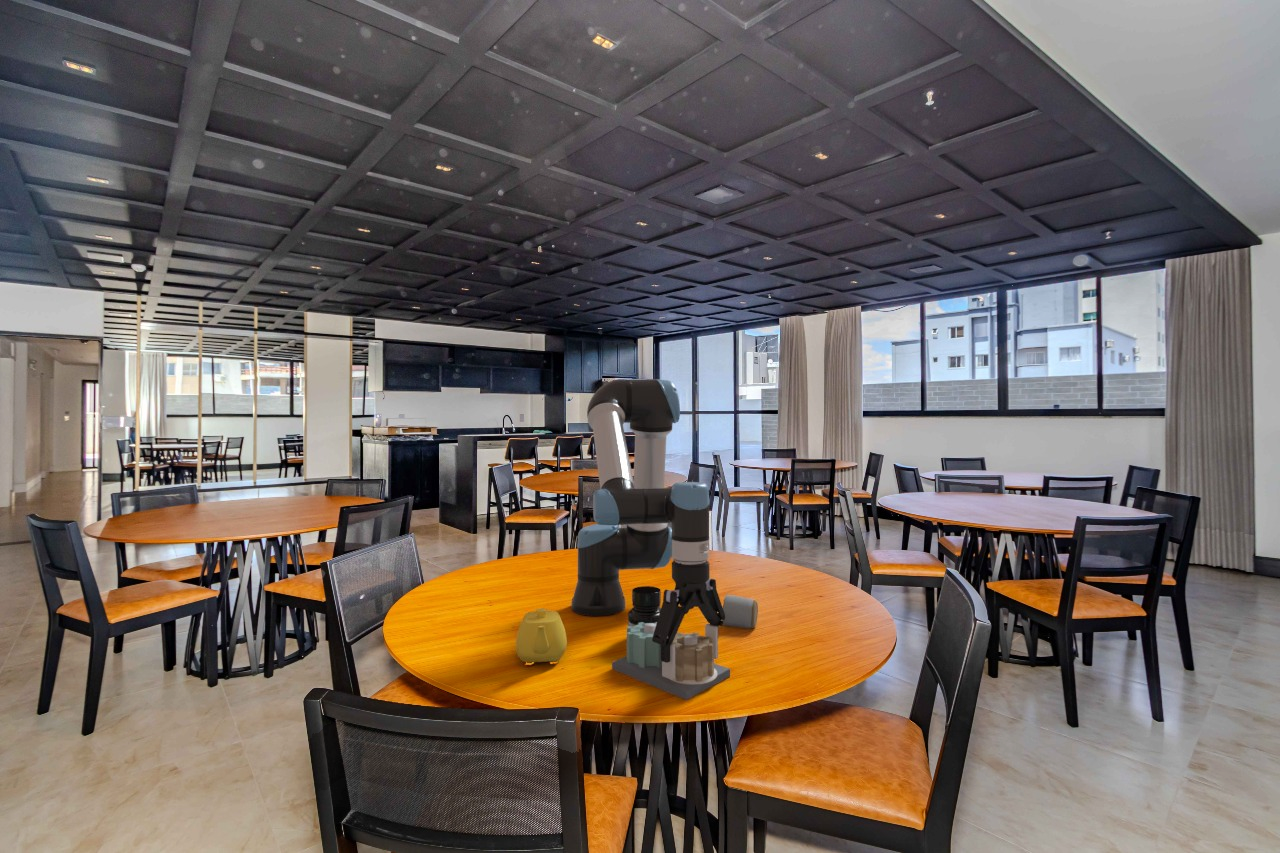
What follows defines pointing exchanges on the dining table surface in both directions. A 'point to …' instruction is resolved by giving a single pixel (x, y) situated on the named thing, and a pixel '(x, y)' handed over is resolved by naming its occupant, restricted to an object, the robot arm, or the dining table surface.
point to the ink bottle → (645, 605)
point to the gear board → (665, 682)
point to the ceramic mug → (740, 612)
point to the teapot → (541, 637)
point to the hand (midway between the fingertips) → (691, 667)
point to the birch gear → (693, 658)
